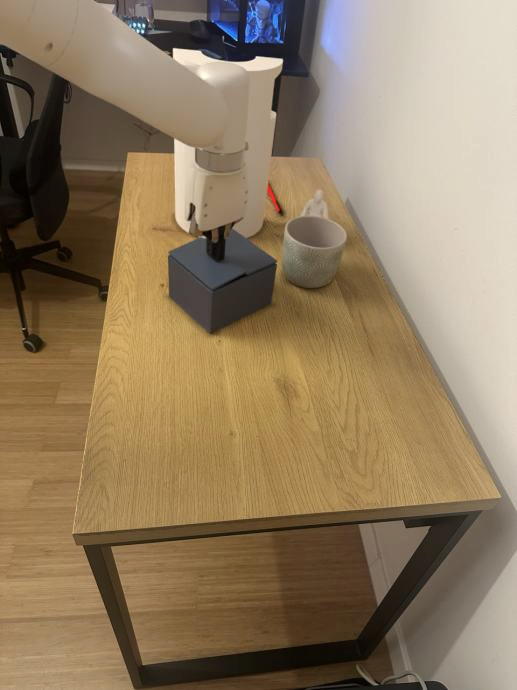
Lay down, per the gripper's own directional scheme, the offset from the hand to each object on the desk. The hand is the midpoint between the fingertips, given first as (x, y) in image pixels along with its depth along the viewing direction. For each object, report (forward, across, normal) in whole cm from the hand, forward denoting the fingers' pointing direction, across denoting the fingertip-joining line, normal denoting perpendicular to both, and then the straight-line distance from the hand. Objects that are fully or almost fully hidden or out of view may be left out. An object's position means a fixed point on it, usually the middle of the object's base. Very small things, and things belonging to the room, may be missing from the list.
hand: (215, 256), depth 89 cm
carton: (+11, -2, 0) cm, 11 cm away
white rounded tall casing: (+11, -18, -21) cm, 30 cm away
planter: (+11, -22, +4) cm, 25 cm away
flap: (+1, +2, 0) cm, 2 cm away
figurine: (+11, -32, -5) cm, 34 cm away
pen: (+12, -39, -26) cm, 48 cm away
